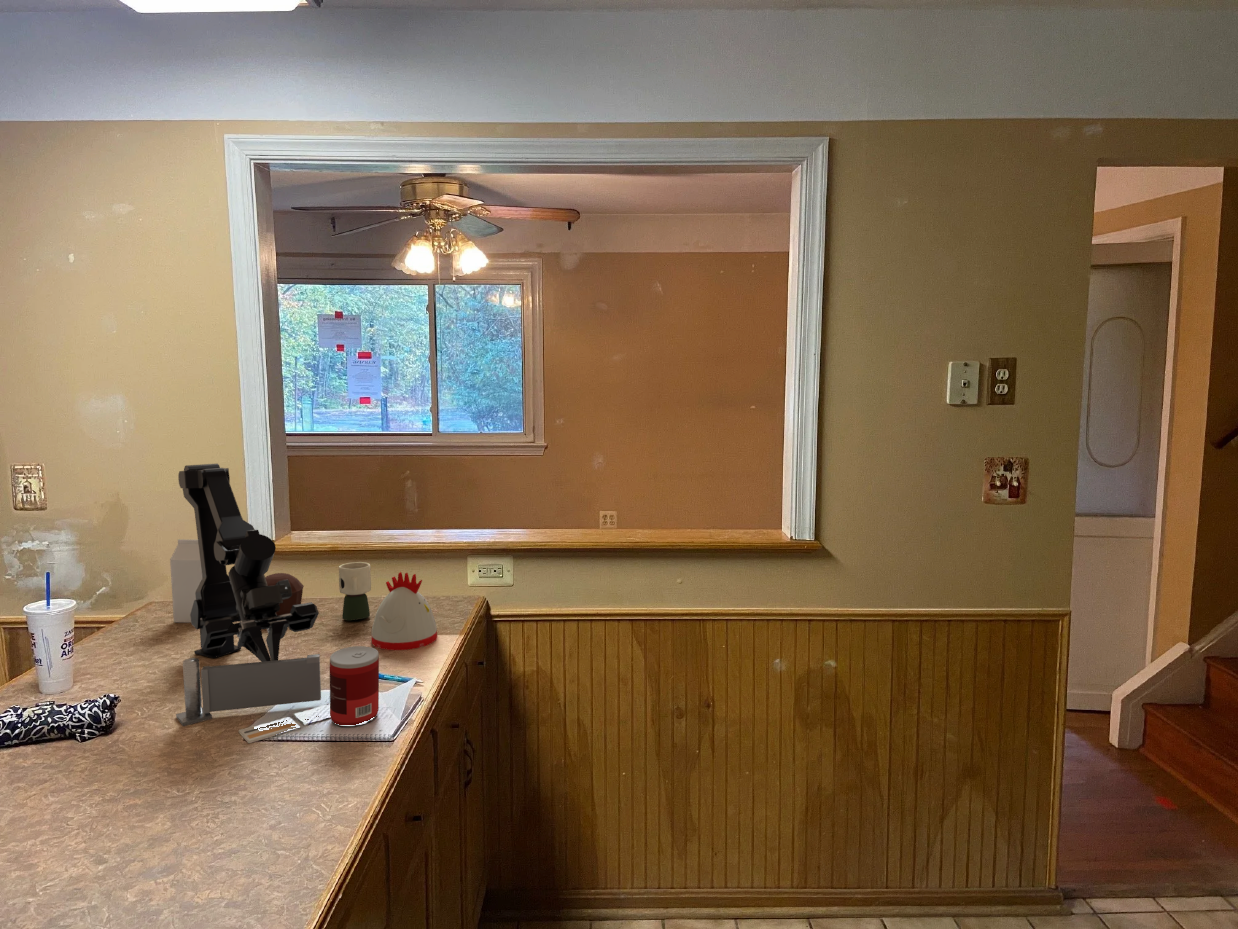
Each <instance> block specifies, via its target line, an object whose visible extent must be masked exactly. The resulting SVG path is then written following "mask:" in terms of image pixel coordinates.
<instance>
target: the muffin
mask: <svg viewBox="0 0 1238 929" xmlns="http://www.w3.org/2000/svg"><path fill="white" fill-rule="evenodd" d="M265 579H266V582H267V585H268V586H269V585H270V586H274V585H276V583H277V582H278V581H282V580H289V583H290V586H291V590H292V596H291V597H290V598H288V599H283V603H280V604H279V606H280V610H279V611H278V612H276V615H277V616H278V615H284V614H289V613H290V611H291V609H292V606H293V605H299V604H302V600H303V590H304V586H305V585H303V583H302V582H301V581H300V580H299V579H298V578H297V577H295V576H293V575H292V574H290V573H284V572H277V573H272V574H269V575H267V576H266V575H265Z"/></svg>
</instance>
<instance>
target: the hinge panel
mask: <svg viewBox="0 0 1238 929" xmlns="http://www.w3.org/2000/svg"><path fill="white" fill-rule="evenodd" d="M320 657H321V655H320V653H317V654H315V653H314V654H307V656H306V657H300V658H299V657H298V658H288V659H286V658H285V659H278V660H275V661H264V662H261V661H256V662H253V661H252V662H245V663H232V664H224V665H212V666H211V665H204V666H203V667H202V668H200V682H201V700H202V707H203V713H214V712H222V711H223V712H224V711H233V710H241V709H251V708H260V707H269V706H279V705H288V704H289V705H291V704H296V703H297V704H298V703H307V702H316V701H321V700H322V686H321V662H320V661H321V659H320Z"/></svg>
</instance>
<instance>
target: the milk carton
mask: <svg viewBox="0 0 1238 929" xmlns="http://www.w3.org/2000/svg"><path fill="white" fill-rule="evenodd" d="M169 563H170V564H169V566H170V578H171V580H170V581H171V582H170V583H171V597H172V598H171V599H172V613H173V614H172V615H173V616H172V617H173V623H191V616H190V614H191V610H192V607H193V603H194V600H196V595H195V592H196V590H197V588H198V586H199V584H200V582H201V580H202V570H201V561H200V553H199V545H198V539H184V538H183V539H177V544H176V547H175V549H174V551H173V553H172V555H171V556H170V559H169ZM201 619H202V618H201Z"/></svg>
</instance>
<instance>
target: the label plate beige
mask: <svg viewBox="0 0 1238 929" xmlns="http://www.w3.org/2000/svg"><path fill="white" fill-rule="evenodd" d="M286 721H287V720H286ZM283 722H284V721H283ZM283 722H281V723H283ZM279 723H280V722H278V726H279ZM273 725H275V726H276V725H277V723H274V724H270V725H267V726H266V727H267V728H269V726H273ZM281 725H282V724H280V726H279V727H270V728H269V730H263V731H259V730H258V728H257V729H254V726H255V725H253V726H252V725H251V726H248V727H245V728H240V729H238V734H240V735H241V737H242V739H244V740H245V741H246V742H247V744H251V743H254V742H258V741H262V740H265V739H269V738H271V737H275V735H276V734H279V733H281V732H284V731H287V730H288V729H293V728H296V727H291V726H295V725H296V724H292V723H291V724H286V725H284V724H283V726H281ZM266 727H260V728H266ZM260 728H259V729H260ZM271 728H272V729H271ZM279 735H280V734H279ZM276 736H277V735H276Z"/></svg>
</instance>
